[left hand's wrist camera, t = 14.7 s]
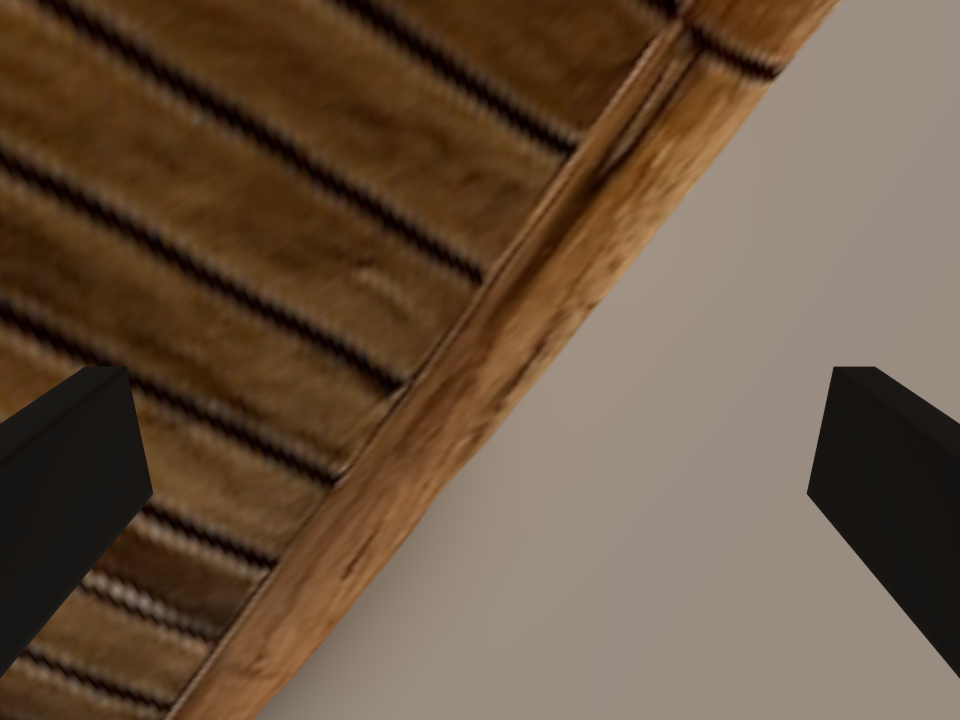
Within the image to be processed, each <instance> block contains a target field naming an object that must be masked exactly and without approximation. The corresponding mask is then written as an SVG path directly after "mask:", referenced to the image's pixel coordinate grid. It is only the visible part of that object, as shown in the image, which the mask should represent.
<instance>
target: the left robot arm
mask: <svg viewBox="0 0 960 720" xmlns="http://www.w3.org/2000/svg"><path fill="white" fill-rule="evenodd" d="M152 495H153V490H152V485H151V481H150V476H149V471H148V467H147V462H146V457H145V452H144V448H143V443H142V438H141V434H140V429H139V424H138V419H137V415H136V410H135V405H134V401H133V396H132V391H131V386H130V382H129V377H128V372H127V368H126V367H84V368H82V369H81V370H79V371H78V372H76V373H75V374H73V375H72V376H70V377H69V378H67V379H66V380H64V381H63V382H62V383H60V384H59V385H57V386H56V387H54V388H53V389H51V390H50V391H48V392H47V393H45V394H44V395H42V396H41V397H39V398H38V399H36V400H35V401H33V402H32V403H30V404H29V405H27V406H26V407H25V408H23V409H22V410H20V411H19V412H17V413H16V414H14V415H13V416H11V417H10V418H8V419H7V420H5V421H4V422H2V423H1V424H0V678H1V677H2V676H3V674H4V673H5V672H6V671H7V670H8V668H9V667H10V666H11V665H12V664H13V662H14V661H15V660H16V659H17V658H18V656H19V655H20V654H21V653H22V652H23V650H24V649H25V648H26V647H27V645H28V644H29V643H30V642H31V641H32V639H33V638H34V637H35V636H36V635H37V633H38V632H39V631H40V630H41V629H42V627H43V626H44V625H45V624H46V623H47V621H48V620H49V619H50V618H51V617H52V615H53V614H54V613H55V612H56V611H57V609H58V608H59V607H60V606H61V604H62V603H63V602H64V601H65V600H66V598H67V597H68V596H69V595H70V594H71V592H72V591H73V590H74V589H75V588H76V586H77V585H78V584H79V583H80V582H81V580H82V579H83V578H84V577H85V576H86V574H87V573H88V572H89V571H90V570H91V568H92V567H93V566H94V565H95V563H96V562H97V561H98V560H99V559H100V557H101V556H102V555H103V554H104V553H105V551H106V550H107V549H108V548H109V547H110V545H111V544H112V543H113V542H114V541H115V539H116V538H117V537H118V536H119V535H120V533H121V532H122V531H123V530H124V529H125V527H126V526H127V525H128V524H129V522H130V521H131V520H132V519H133V518H134V516H135V515H136V514H137V513H138V512H139V510H140V509H141V508H142V507H143V506H144V504H145V503H146V502H147V501H148V500H149V498H150V497H151V496H152ZM807 495H808V496H809V497H810V498H811V500H812V501H813V502H814V503H815V504H816V506H817V507H818V508H819V509H820V510H821V512H822V513H823V514H824V515H825V516H826V518H827V519H828V520H829V521H830V522H831V524H832V525H833V526H834V527H835V528H836V530H837V531H838V532H839V533H840V535H841V536H842V537H843V538H844V539H845V541H846V542H847V543H848V544H849V545H850V547H851V548H852V549H853V550H854V551H855V553H856V554H857V555H858V556H859V557H860V559H861V560H862V561H863V562H864V563H865V565H866V566H867V567H868V568H869V569H870V571H871V572H872V573H873V574H874V575H875V577H876V578H877V579H878V580H879V582H880V583H881V584H882V585H883V586H884V588H885V589H886V590H887V591H888V592H889V594H890V595H891V596H892V597H893V598H894V600H895V601H896V602H897V603H898V604H899V606H900V607H901V608H902V609H903V610H904V612H905V613H906V614H907V615H908V617H909V618H910V619H911V620H912V621H913V623H914V624H915V625H916V626H917V627H918V628H919V630H920V631H921V632H922V633H923V635H924V636H925V637H926V638H927V639H928V641H929V642H930V643H931V644H932V645H933V647H934V648H935V649H936V650H937V652H938V653H939V654H940V655H941V656H942V657H943V659H944V660H945V661H946V662H947V664H948V665H949V666H950V667H951V668H952V670H953V671H954V672H955V673H956V674H957V676H958V677H959V678H960V424H959V423H958V422H956V421H955V420H953V419H952V418H950V417H949V416H947V415H946V414H944V413H943V412H941V411H940V410H938V409H937V408H935V407H934V406H933V405H931V404H930V403H928V402H927V401H925V400H924V399H922V398H921V397H919V396H918V395H916V394H915V393H913V392H912V391H910V390H909V389H907V388H906V387H904V386H903V385H901V384H900V383H898V382H897V381H896V380H894V379H893V378H891V377H890V376H888V375H887V374H885V373H884V372H882V371H881V370H879V369H878V368H876V367H834V368H833V372H832V377H831V382H830V387H829V391H828V396H827V401H826V405H825V410H824V415H823V419H822V424H821V429H820V434H819V438H818V443H817V448H816V452H815V457H814V462H813V467H812V471H811V476H810V481H809V485H808V490H807Z"/></svg>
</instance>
